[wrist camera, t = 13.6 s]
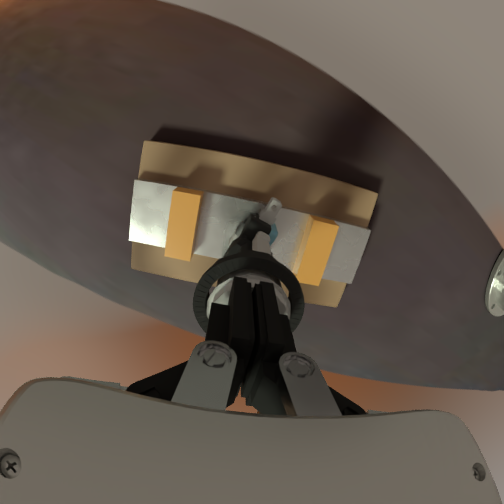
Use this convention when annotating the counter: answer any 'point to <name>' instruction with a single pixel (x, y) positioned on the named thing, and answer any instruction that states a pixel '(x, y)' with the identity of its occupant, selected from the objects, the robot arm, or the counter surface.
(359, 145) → the counter surface
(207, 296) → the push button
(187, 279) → the din panel
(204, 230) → the din rail
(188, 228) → the end stops
